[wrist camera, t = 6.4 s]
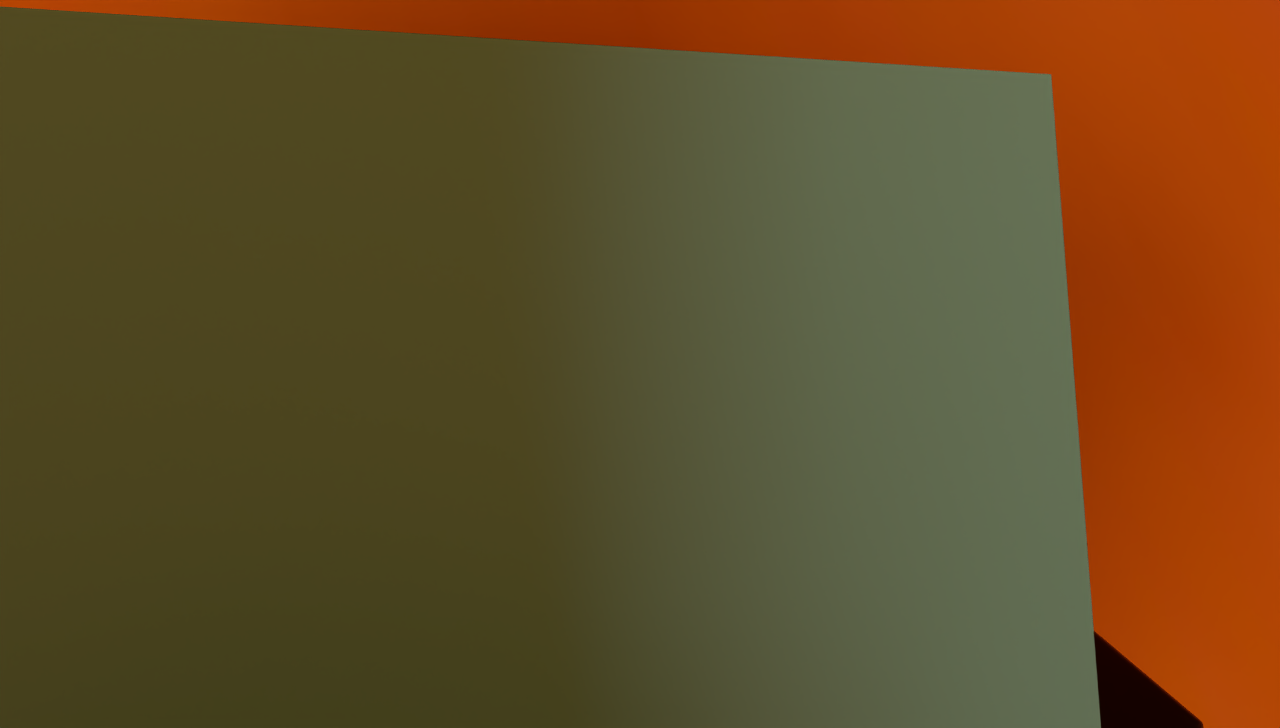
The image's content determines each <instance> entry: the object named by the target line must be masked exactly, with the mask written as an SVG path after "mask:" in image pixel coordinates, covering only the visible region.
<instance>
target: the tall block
mask: <svg viewBox="0 0 1280 728" xmlns="http://www.w3.org/2000/svg"><path fill="white" fill-rule="evenodd" d="M0 728H1101V721H1100V708H1099V695H1098V682H1097V669H1096V656H1095V643H1094V630H1093V617H1092V604H1091V591H1090V578H1089V564H1088V551H1087V538H1086V525H1085V512H1084V499H1083V486H1082V473H1081V460H1080V447H1079V434H1078V421H1077V408H1076V395H1075V381H1074V368H1073V355H1072V342H1071V329H1070V316H1069V303H1068V290H1067V277H1066V264H1065V251H1064V238H1063V225H1062V212H1061V199H1060V185H1059V172H1058V159H1057V146H1056V133H1055V120H1054V107H1053V94H1052V81H1051V74H1036V73H1021V72H1005V71H990V70H974V69H959V68H943V67H928V66H912V65H897V64H881V63H866V62H850V61H835V60H819V59H804V58H788V57H773V56H757V55H742V54H726V53H711V52H695V51H680V50H664V49H649V48H633V47H618V46H602V45H587V44H571V43H556V42H540V41H525V40H509V39H494V38H478V37H463V36H447V35H432V34H416V33H401V32H385V31H370V30H354V29H339V28H323V27H308V26H292V25H277V24H261V23H245V22H230V21H215V20H199V19H183V18H168V17H153V16H137V15H121V14H106V13H91V12H75V11H59V10H44V9H29V8H13V7H0Z"/></svg>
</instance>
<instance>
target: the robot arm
mask: <svg viewBox="0 0 1280 728" xmlns="http://www.w3.org/2000/svg"><path fill="white" fill-rule="evenodd" d="M1094 643H1095V656H1096V669H1097V682H1098V695H1099V708H1100V721H1101V728H1203V724H1202V722H1201V721H1200V720H1199V719H1198V718H1197V717H1196V716H1194V715H1193V714H1192V713H1191V712H1190V711H1188V710H1187V709H1186V708H1185V707H1184V706H1182V705H1181V704H1180V703H1179V702H1178V701H1177V700H1175V699H1174V698H1173V697H1172V696H1171V695H1169V694H1168V693H1167V692H1166V691H1165V690H1164V689H1162V688H1161V687H1160V686H1159V685H1158V684H1156V683H1155V682H1154V681H1153V680H1152V679H1150V678H1149V677H1148V676H1147V675H1146V674H1145V673H1143V672H1142V671H1141V670H1140V669H1139V668H1137V667H1136V666H1135V665H1134V664H1133V663H1132V662H1130V661H1129V660H1128V659H1127V658H1126V657H1124V656H1123V655H1122V654H1121V653H1120V652H1118V651H1117V650H1116V649H1115V648H1114V647H1113V646H1111V645H1110V644H1109V643H1108V642H1107V641H1105V640H1104V639H1103V638H1102V637H1101V636H1100V635H1098V634H1097V633H1096V632H1095V631H1094Z"/></svg>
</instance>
